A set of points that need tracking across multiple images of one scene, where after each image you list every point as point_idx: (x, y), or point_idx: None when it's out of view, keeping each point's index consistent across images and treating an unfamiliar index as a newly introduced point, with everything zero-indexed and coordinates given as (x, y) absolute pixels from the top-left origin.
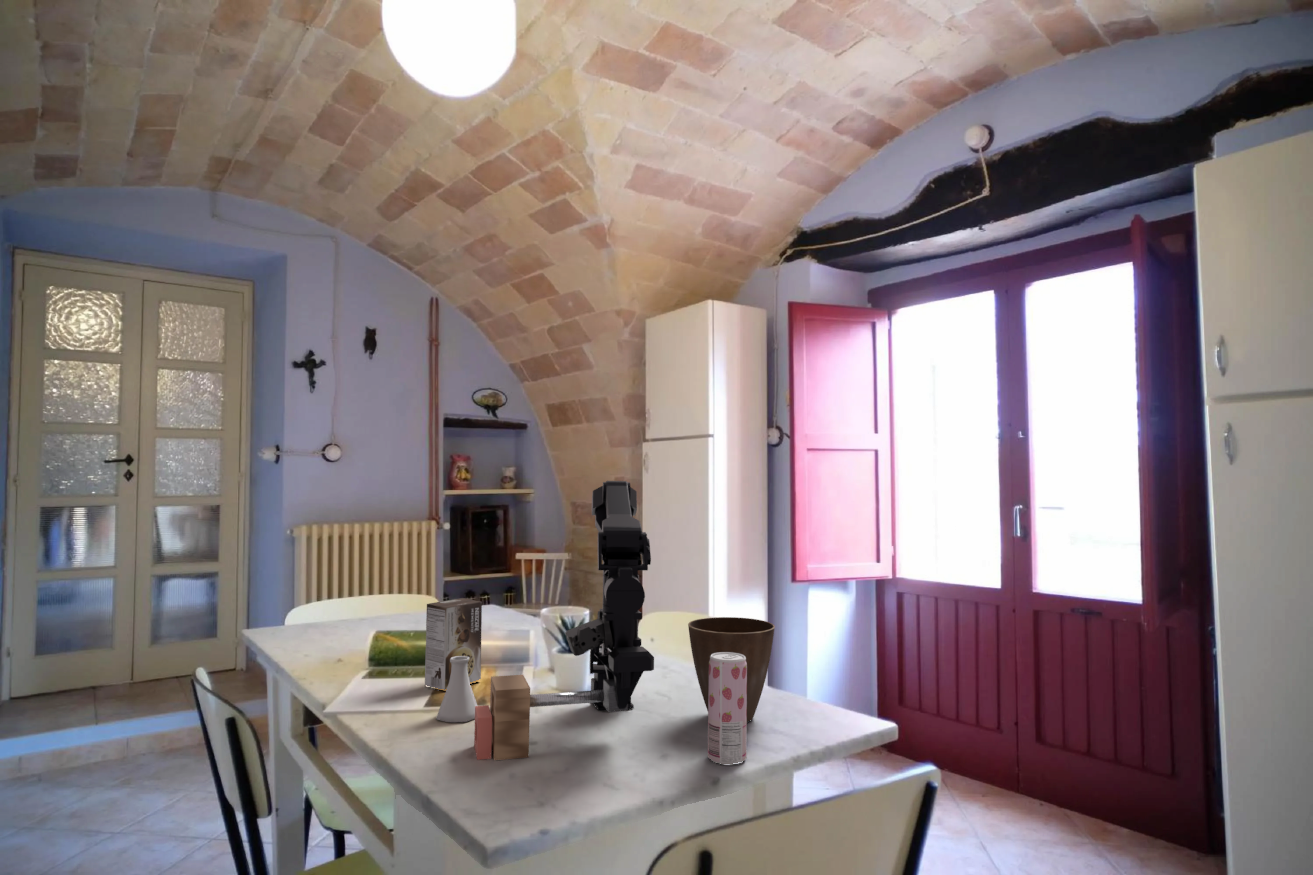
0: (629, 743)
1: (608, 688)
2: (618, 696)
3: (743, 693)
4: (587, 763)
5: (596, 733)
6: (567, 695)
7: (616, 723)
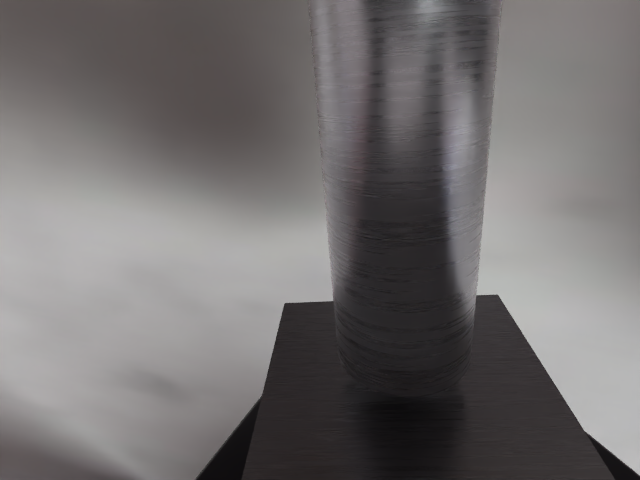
0: None
1: (293, 468)
2: (205, 468)
3: None
4: (54, 66)
5: (506, 181)
6: None
7: (622, 302)
